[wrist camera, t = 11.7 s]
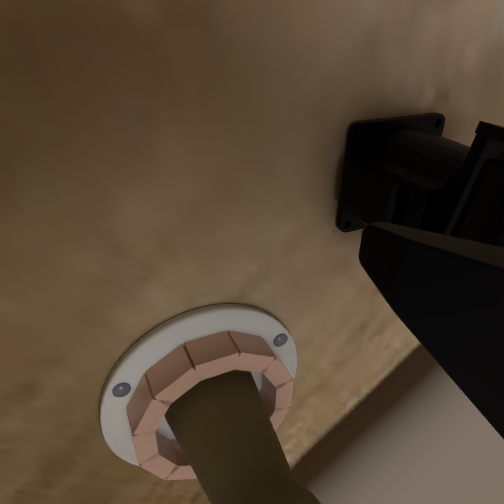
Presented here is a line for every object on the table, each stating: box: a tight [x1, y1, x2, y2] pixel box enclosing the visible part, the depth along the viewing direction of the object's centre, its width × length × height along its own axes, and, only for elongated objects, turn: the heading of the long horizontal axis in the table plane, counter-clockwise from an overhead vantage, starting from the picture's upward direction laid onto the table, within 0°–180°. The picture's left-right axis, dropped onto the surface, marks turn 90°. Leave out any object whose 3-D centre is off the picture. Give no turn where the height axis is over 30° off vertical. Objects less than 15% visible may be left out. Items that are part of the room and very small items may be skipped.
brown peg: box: [164, 370, 320, 504], centre depth 23 cm, size 6×6×11 cm
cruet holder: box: [99, 304, 297, 480], centre depth 27 cm, size 13×13×3 cm
